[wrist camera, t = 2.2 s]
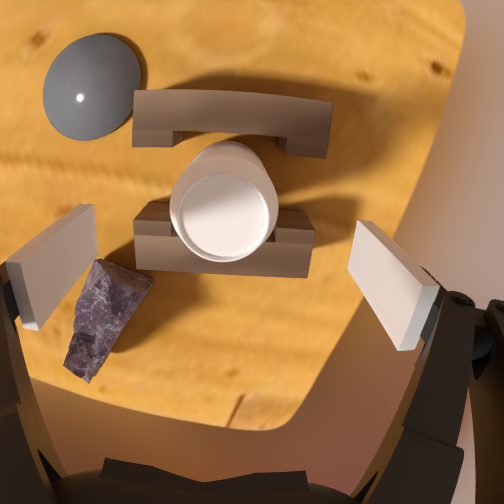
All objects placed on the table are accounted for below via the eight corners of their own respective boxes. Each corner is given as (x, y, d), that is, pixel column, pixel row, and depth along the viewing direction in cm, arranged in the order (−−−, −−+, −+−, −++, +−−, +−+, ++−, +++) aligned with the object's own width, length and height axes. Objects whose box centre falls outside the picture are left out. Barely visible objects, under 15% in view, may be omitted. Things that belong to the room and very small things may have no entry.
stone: (71, 293, 20) (38, 394, 24) (145, 333, 22) (91, 421, 27) (109, 236, 30) (66, 332, 34) (162, 266, 32) (109, 355, 36)
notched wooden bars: (151, 93, 24) (134, 90, 19) (316, 103, 25) (332, 102, 21) (150, 244, 30) (136, 268, 25) (296, 252, 31) (307, 278, 26)
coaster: (50, 44, 21) (47, 43, 20) (146, 29, 21) (145, 28, 21) (45, 143, 25) (42, 144, 24) (138, 138, 26) (136, 138, 25)
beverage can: (180, 157, 27) (143, 191, 16) (247, 128, 26) (256, 140, 15) (209, 219, 29) (195, 288, 18) (273, 192, 28) (299, 248, 17)
